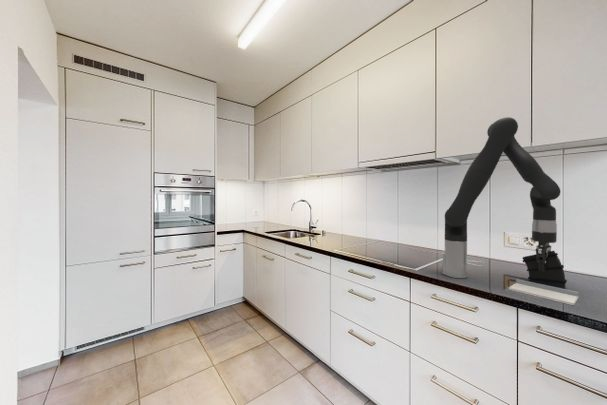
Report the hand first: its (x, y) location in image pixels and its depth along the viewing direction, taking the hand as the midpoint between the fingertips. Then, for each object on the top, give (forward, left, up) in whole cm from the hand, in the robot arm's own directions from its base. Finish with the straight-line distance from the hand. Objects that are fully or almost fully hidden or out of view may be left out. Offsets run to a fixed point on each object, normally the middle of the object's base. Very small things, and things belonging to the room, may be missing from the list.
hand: (543, 270), depth 105 cm
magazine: (0, 0, -7) cm, 7 cm away
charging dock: (+2, -13, -6) cm, 15 cm away
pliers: (-34, +14, -7) cm, 38 cm away
